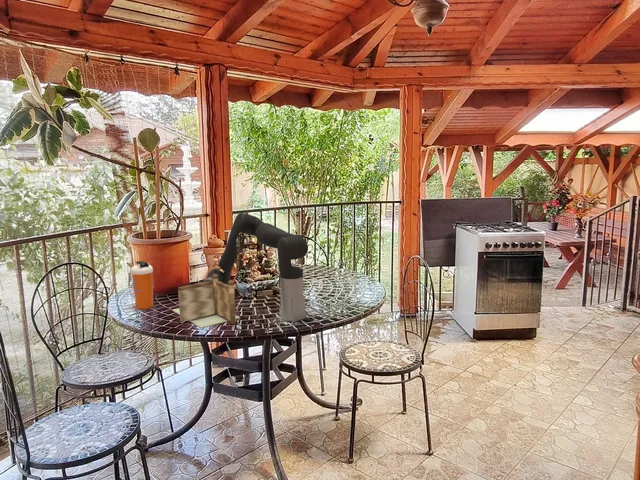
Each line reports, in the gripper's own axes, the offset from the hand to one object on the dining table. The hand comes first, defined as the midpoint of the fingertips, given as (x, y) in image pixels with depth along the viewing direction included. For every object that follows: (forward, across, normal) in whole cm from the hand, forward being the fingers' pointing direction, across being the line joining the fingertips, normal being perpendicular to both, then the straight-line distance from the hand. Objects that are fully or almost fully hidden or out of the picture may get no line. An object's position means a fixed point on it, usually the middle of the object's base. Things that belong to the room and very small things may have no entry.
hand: (194, 299), depth 185 cm
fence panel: (+6, +3, +6) cm, 9 cm away
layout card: (0, +4, +6) cm, 8 cm away
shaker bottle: (-8, -26, +7) cm, 28 cm away
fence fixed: (+5, +14, +6) cm, 16 cm away
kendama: (-43, +32, +7) cm, 54 cm away
